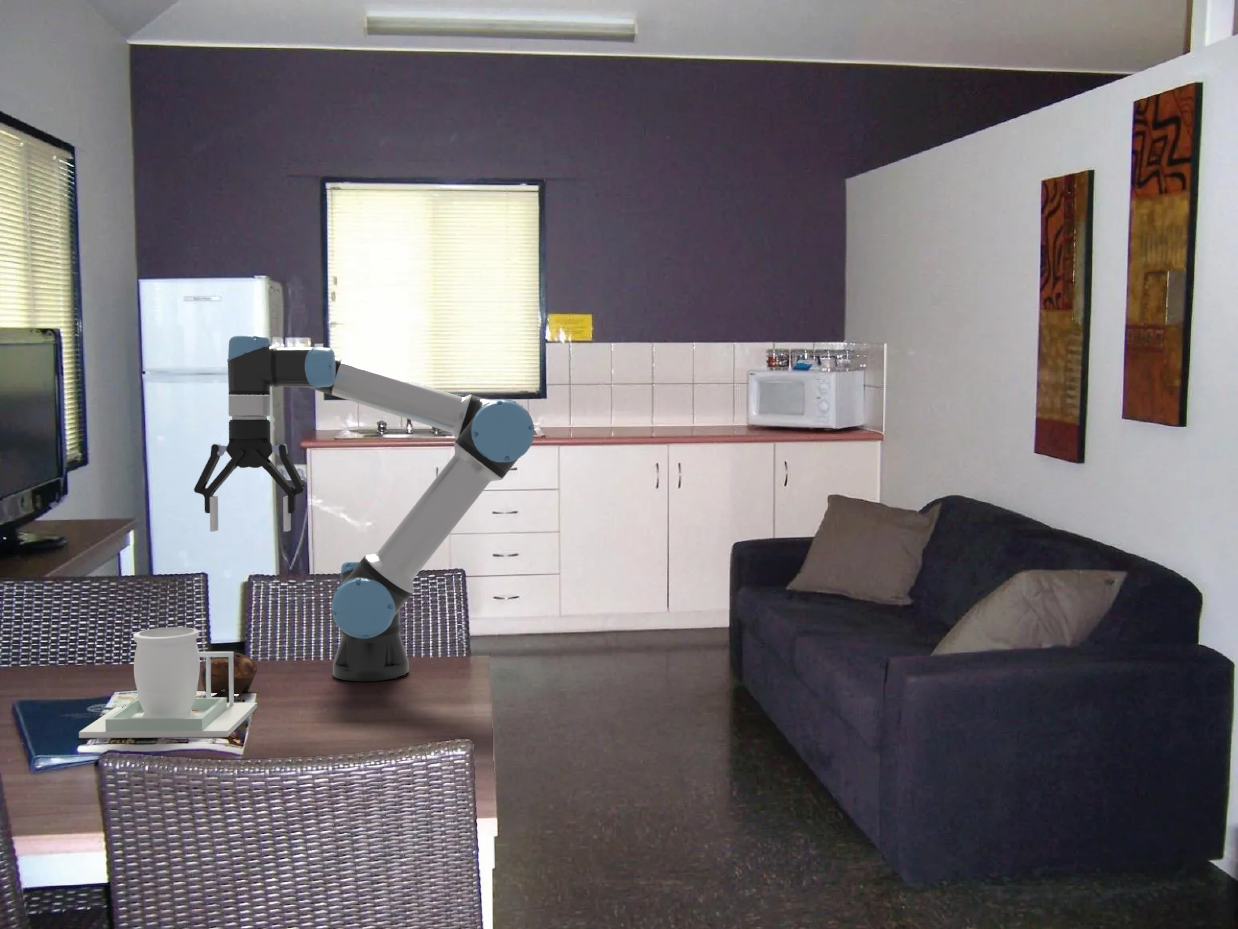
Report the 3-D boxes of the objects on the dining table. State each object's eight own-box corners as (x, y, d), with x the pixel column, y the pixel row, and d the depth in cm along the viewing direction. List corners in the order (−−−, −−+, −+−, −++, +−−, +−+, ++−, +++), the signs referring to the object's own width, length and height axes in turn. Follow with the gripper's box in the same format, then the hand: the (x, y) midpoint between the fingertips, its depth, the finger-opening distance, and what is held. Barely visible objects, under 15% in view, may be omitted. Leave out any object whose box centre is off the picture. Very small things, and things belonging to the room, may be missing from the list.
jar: (161, 731, 199) (159, 640, 198) (121, 722, 204) (119, 634, 204) (213, 717, 208) (212, 630, 207) (174, 709, 213) (172, 624, 213)
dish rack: (257, 708, 218) (256, 649, 218) (227, 737, 199) (227, 673, 199) (121, 709, 217) (120, 650, 217) (79, 738, 198) (77, 673, 198)
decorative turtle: (192, 704, 221) (190, 660, 221) (215, 690, 236) (213, 649, 236) (246, 700, 222) (244, 656, 222) (265, 687, 237) (263, 646, 237)
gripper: (320, 418, 232) (321, 528, 233) (188, 417, 231) (189, 528, 232) (312, 418, 225) (313, 532, 226) (175, 418, 224) (177, 532, 225)
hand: (250, 531), depth 229 cm, fingers open, 13 cm apart
